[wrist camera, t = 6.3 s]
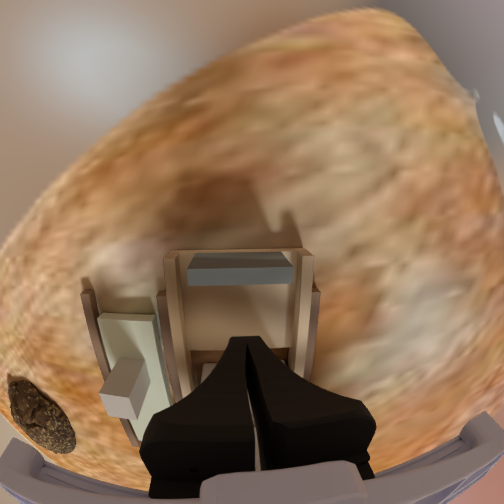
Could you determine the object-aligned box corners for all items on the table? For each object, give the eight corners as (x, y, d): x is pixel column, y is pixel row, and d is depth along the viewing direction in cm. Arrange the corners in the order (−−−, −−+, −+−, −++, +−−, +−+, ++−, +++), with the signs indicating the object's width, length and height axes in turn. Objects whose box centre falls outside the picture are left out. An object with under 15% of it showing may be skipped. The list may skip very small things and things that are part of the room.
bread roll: (77, 452, 25) (67, 474, 21) (15, 411, 23) (2, 429, 19) (80, 412, 23) (65, 439, 19) (7, 361, 21) (-13, 380, 16)
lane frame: (296, 441, 26) (298, 447, 25) (134, 440, 24) (132, 445, 23) (316, 287, 21) (320, 292, 20) (85, 289, 20) (80, 293, 19)
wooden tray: (290, 417, 24) (299, 451, 19) (194, 420, 24) (190, 456, 19) (304, 248, 20) (326, 265, 16) (170, 250, 20) (153, 269, 15)
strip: (182, 437, 24) (176, 479, 18) (140, 433, 24) (129, 472, 18) (155, 314, 21) (132, 356, 15) (102, 312, 20) (69, 349, 14)
